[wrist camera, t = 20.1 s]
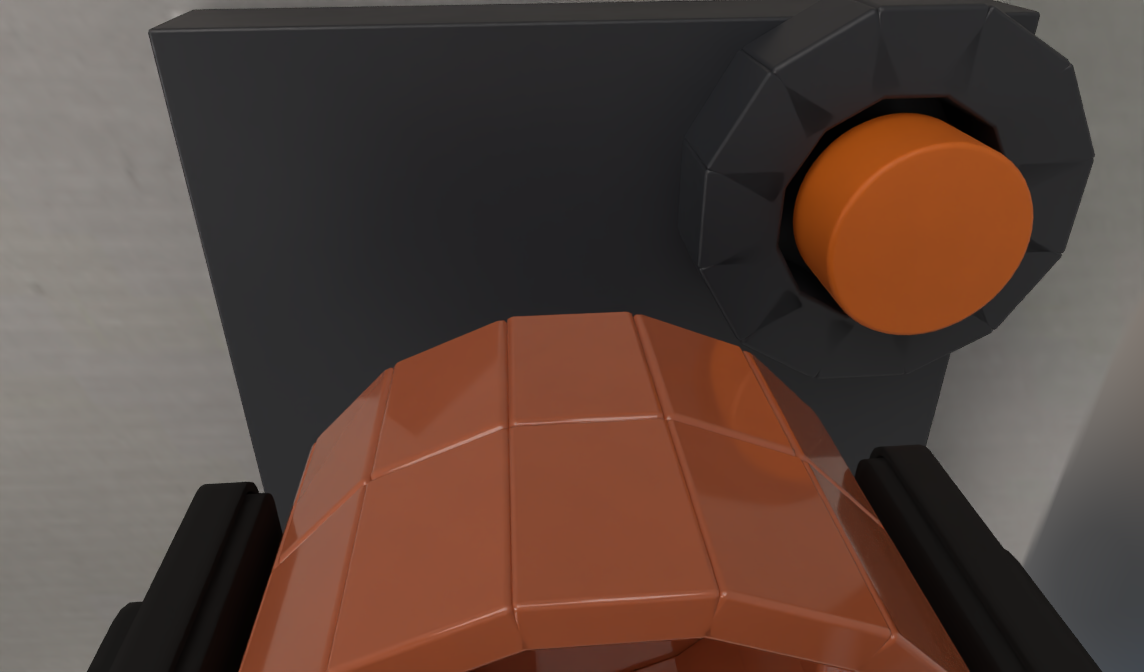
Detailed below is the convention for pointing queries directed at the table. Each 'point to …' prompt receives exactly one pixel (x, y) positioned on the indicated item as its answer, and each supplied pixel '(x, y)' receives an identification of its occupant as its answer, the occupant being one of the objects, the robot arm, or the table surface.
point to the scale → (580, 183)
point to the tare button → (912, 223)
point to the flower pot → (587, 519)
